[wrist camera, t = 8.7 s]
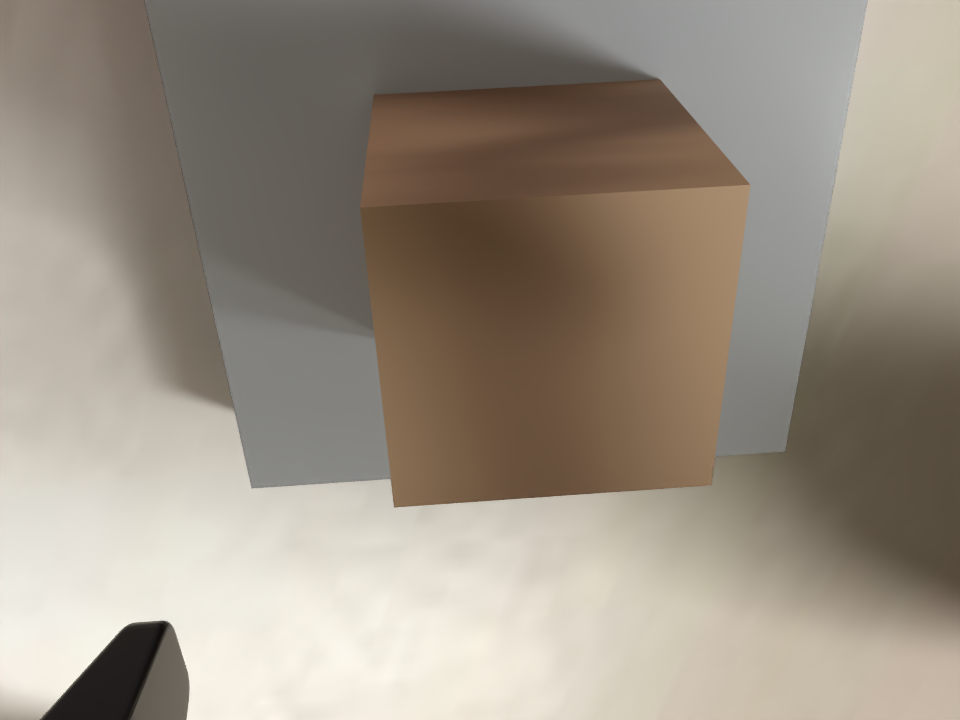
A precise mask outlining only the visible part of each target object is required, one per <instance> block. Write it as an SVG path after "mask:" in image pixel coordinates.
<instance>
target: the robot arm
mask: <svg viewBox="0 0 960 720" xmlns="http://www.w3.org/2000/svg"><path fill="white" fill-rule="evenodd" d="M188 702H189V677H188V672H187V669H186V665H185V662H184V659H183V656H182V652H181V649H180V646H179V643H178V640H177V636H176V633H175V630H174V628H173V626H172V625H171V624H170V623H169V622H167V621H151V622H137V623H131V624H129V625H127V626H126V627H124V628H123V629H122V630H121V631H120V632H119V633H118V634H117V635H116V636H115V637H114V639H113V640H112V641H111V642H110V643H109V644H108V645H107V646H106V647H105V649H104V650H103V651H102V652H101V653H100V654H99V655H98V656H97V657H96V658H95V660H94V661H93V662H92V663H91V664H90V665H89V666H88V667H87V668H86V670H85V671H84V672H83V673H82V674H81V675H80V676H79V677H78V678H77V679H76V681H75V682H74V683H73V684H72V685H71V686H70V687H69V688H68V689H67V690H66V692H65V693H64V694H63V695H62V696H61V697H60V698H59V699H58V700H57V702H56V703H55V704H54V705H53V706H52V707H51V708H50V709H49V710H48V711H47V713H46V714H45V715H44V716H43V717H42V718H41V719H40V720H186V718H187V710H188Z"/></svg>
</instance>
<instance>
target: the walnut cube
mask: <svg viewBox="0 0 960 720" xmlns="http://www.w3.org/2000/svg"><path fill="white" fill-rule="evenodd" d="M749 192H750V184H749V182H748V181H747V180H746V179H745V178H744V177H743V175H742V174H741V173H740V172H739V171H738V170H737V168H736V167H735V166H734V165H733V164H732V163H731V161H730V160H729V159H728V158H727V157H726V156H725V154H724V153H723V152H722V151H721V150H720V149H719V147H718V146H717V145H716V144H715V143H714V142H713V140H712V139H711V138H710V137H709V136H708V135H707V133H706V132H705V131H704V130H703V129H702V128H701V126H700V125H699V124H698V123H697V122H696V121H695V119H694V118H693V117H692V116H691V115H690V114H689V112H688V111H687V110H686V109H685V108H684V107H683V105H682V104H681V103H680V102H679V101H678V100H677V98H676V97H675V96H674V95H673V94H672V93H671V91H670V90H669V89H668V88H667V87H666V86H665V84H664V83H663V82H662V81H661V80H660V79H657V80H638V81H620V82H601V83H583V84H564V85H546V86H527V87H509V88H490V89H472V90H453V91H435V92H416V93H397V94H379V95H374V97H373V105H372V113H371V121H370V130H369V138H368V146H367V154H366V162H365V171H364V179H363V187H362V195H361V203H360V212H361V221H362V230H363V238H364V247H365V256H366V265H367V274H368V282H369V291H370V300H371V309H372V317H373V326H374V335H375V344H376V353H377V361H378V370H379V379H380V388H381V397H382V405H383V414H384V423H385V432H386V441H387V449H388V458H389V467H390V476H391V485H392V493H393V502H394V507H406V506H420V505H435V504H449V503H463V502H478V501H492V500H506V499H520V498H535V497H549V496H563V495H578V494H592V493H606V492H620V491H635V490H649V489H663V488H678V487H692V486H706V485H711V483H712V476H713V468H714V460H715V453H716V445H717V437H718V430H719V422H720V414H721V407H722V399H723V391H724V384H725V376H726V368H727V361H728V353H729V345H730V338H731V330H732V322H733V315H734V307H735V299H736V292H737V284H738V276H739V269H740V261H741V253H742V246H743V238H744V230H745V223H746V215H747V207H748V200H749Z"/></svg>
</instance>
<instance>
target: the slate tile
mask: <svg viewBox="0 0 960 720" xmlns="http://www.w3.org/2000/svg"><path fill="white" fill-rule="evenodd" d="M144 1H145V6H146V10H147V15H148V19H149V24H150V29H151V33H152V38H153V42H154V47H155V51H156V56H157V60H158V65H159V69H160V74H161V78H162V83H163V88H164V92H165V97H166V101H167V106H168V110H169V115H170V119H171V124H172V128H173V133H174V138H175V142H176V147H177V151H178V156H179V160H180V165H181V169H182V174H183V178H184V183H185V188H186V192H187V197H188V201H189V206H190V210H191V215H192V219H193V224H194V228H195V233H196V238H197V242H198V247H199V251H200V256H201V260H202V265H203V269H204V274H205V278H206V283H207V287H208V292H209V297H210V301H211V306H212V310H213V315H214V319H215V324H216V328H217V333H218V337H219V342H220V347H221V351H222V356H223V360H224V365H225V369H226V374H227V378H228V383H229V387H230V392H231V397H232V401H233V406H234V410H235V415H236V419H237V424H238V428H239V433H240V437H241V442H242V447H243V451H244V456H245V460H246V465H247V469H248V474H249V478H250V483H251V487H252V488H264V487H278V486H293V485H308V484H322V483H337V482H352V481H366V480H381V479H391V476H390V467H389V458H388V449H387V441H386V432H385V423H384V414H383V405H382V397H381V388H380V379H379V370H378V361H377V353H376V344H375V335H374V326H373V317H372V309H371V300H370V291H369V282H368V274H367V265H366V256H365V247H364V238H363V230H362V221H361V212H360V203H361V195H362V187H363V179H364V171H365V162H366V154H367V146H368V138H369V130H370V121H371V113H372V105H373V97H374V95H379V94H397V93H416V92H435V91H453V90H472V89H490V88H509V87H527V86H546V85H564V84H583V83H601V82H620V81H638V80H657V79H660V80H661V81H662V82H663V83H664V84H665V86H666V87H667V88H668V89H669V90H670V91H671V93H672V94H673V95H674V96H675V97H676V98H677V100H678V101H679V102H680V103H681V104H682V105H683V107H684V108H685V109H686V110H687V111H688V112H689V114H690V115H691V116H692V117H693V118H694V119H695V121H696V122H697V123H698V124H699V125H700V126H701V128H702V129H703V130H704V131H705V132H706V133H707V135H708V136H709V137H710V138H711V139H712V140H713V142H714V143H715V144H716V145H717V146H718V147H719V149H720V150H721V151H722V152H723V153H724V154H725V156H726V157H727V158H728V159H729V160H730V161H731V163H732V164H733V165H734V166H735V167H736V168H737V170H738V171H739V172H740V173H741V174H742V175H743V177H744V178H745V179H746V180H747V181H748V182H749V184H750V192H749V200H748V207H747V215H746V223H745V230H744V238H743V246H742V253H741V261H740V269H739V276H738V284H737V292H736V299H735V307H734V315H733V322H732V330H731V338H730V345H729V353H728V361H727V368H726V376H725V384H724V391H723V399H722V407H721V414H720V422H719V430H718V437H717V445H716V453H715V457H718V456H732V455H747V454H762V453H776V452H785V449H786V444H787V438H788V433H789V427H790V422H791V416H792V411H793V405H794V400H795V395H796V389H797V384H798V378H799V373H800V367H801V362H802V356H803V351H804V345H805V340H806V334H807V329H808V324H809V318H810V313H811V307H812V302H813V296H814V291H815V285H816V280H817V274H818V269H819V263H820V258H821V253H822V247H823V242H824V236H825V231H826V225H827V220H828V214H829V209H830V203H831V198H832V192H833V187H834V182H835V176H836V171H837V165H838V160H839V154H840V149H841V143H842V138H843V132H844V127H845V121H846V116H847V111H848V105H849V100H850V94H851V89H852V83H853V78H854V72H855V67H856V61H857V56H858V50H859V45H860V40H861V34H862V29H863V23H864V18H865V12H866V7H867V1H868V0H144Z"/></svg>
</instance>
